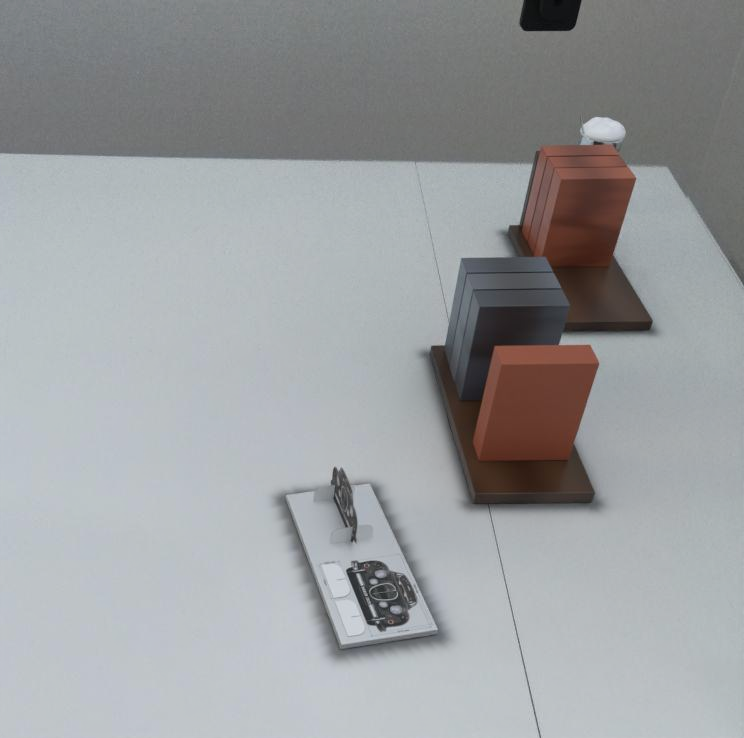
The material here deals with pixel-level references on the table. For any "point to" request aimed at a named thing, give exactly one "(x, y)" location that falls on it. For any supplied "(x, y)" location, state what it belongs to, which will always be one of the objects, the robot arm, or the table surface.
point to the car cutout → (359, 565)
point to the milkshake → (602, 132)
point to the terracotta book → (534, 402)
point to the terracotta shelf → (591, 289)
